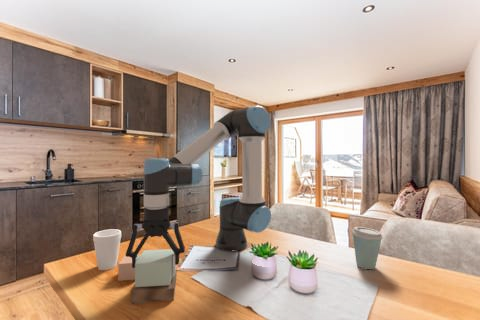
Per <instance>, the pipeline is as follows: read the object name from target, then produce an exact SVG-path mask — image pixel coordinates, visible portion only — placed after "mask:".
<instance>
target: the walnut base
mask: <svg viewBox="0 0 480 320" xmlns="http://www.w3.org/2000/svg"><path fill="white" fill-rule="evenodd" d="M176 286H177V272H176V273H175V276H172V279H171V283H170V285H164V286H147V287H135V283H134V284H133V287H132V289H131V291H130V305H140V304H142V305H143V304H149V303H159V302H169V301H174V300H175V293H176Z"/></svg>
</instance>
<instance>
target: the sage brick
mask: <svg viewBox="0 0 480 320" xmlns="http://www.w3.org/2000/svg"><path fill="white" fill-rule="evenodd" d="M173 253H174V252H173V250H172V249H171V248H169V249H168V248H167V249H148V250H147V249H144V250H143V251H142V253H140V254H141V256H140V257H139V259H138V260H137V262H136V263H135V280H134V284H135V287H147V286H164V285H170V283H171V279H172V276H173Z"/></svg>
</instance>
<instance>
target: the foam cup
mask: <svg viewBox="0 0 480 320" xmlns="http://www.w3.org/2000/svg"><path fill="white" fill-rule="evenodd" d="M92 236H93V237H92V239H93V241H92V242H93V244H94V245H93V246H94V252H95V257H96V263H97V264H96V266H97V269H98V270H99V271H109V270H111V269H114V268H116V267H117V266H118V259H119V253H120V244H121V239H122V231H121V229H117V228H116V229H115V228H112V229H111V228H110V229H104V230H103V229H102V230H100V231H96V232H94V234H92Z"/></svg>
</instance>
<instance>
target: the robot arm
mask: <svg viewBox="0 0 480 320" xmlns="http://www.w3.org/2000/svg"><path fill="white" fill-rule="evenodd" d="M271 123H272V121H271V116H270V114H269V112H268V111H267V109H266V108H264V107H263V106H261V105H251V106H247V107H243V108H237V109H234V110H231V111H230V112H228V113H227V114H224V115H223V116H222V117H221V118H219V119H218V120H217V121H215V122H214V123H213V125H212V127H211V128H210V129H209V130H207V131H206V132H204V133H203V134H202V135H200V136H199V137H197V138H196V139H195V140H194V141H192V142H191V143H189V144H188V145H187V146H185V147H184V148H183V149H181V150H180V151H179V152H178V153H176V154H175V155H173V156H172V157H171V158H169V159H168V158H162V157H161V158H160V157H159V158H157V157H156V158H155V157H152V158H146V159H144V163H143V206H144V208H143V222H142V223H138V222H136V223H134V224H133V226H132V234H131V237H130V239H129V244H128V247H127V249H126V252H125V255H126V257H131V258H132V268H135V263H136V262H137V260H138V259H139V257H140V255H139V253H140V251H141V249H142V248H143V246H144V245H145V243H146V242H147V240H148V239H149V237H150V238H154V237H158V238H159V237H160V238H161V237H163V238H164V240H165V241H166V243H167V244H168V246H169V247H170V249H172V250H173V252H174V253H173V276H175V273H176V274H177V268H176V266H178V265H179V264H180V255H181V254H184V253H185V250H186V249H185V248H186V247H185V243H184V241H183V239H182V235H181V232H180V228H179V226H180V225H179V224H180V223H179V221H175V222H170V217H169V214H170V207H169V205H170V203H169V201H170V200H169V199H170V196H169V195H170V188H174V187H184V186H185V187H186V186H191V187H192V186H194V185H195V186H196V185H199V184H200V183H201V182H202V179H203V170H202V167H201V166H200V165H199V164H198V163H197V162H198V161H200V160H201V159H202V158H204V157H205V156H206V155H208V154H209V152H211V151H212V150H213V149H214V148H215V147H217V146H219V144H221V143H222V142H223V141H228V140H229V139H230V138H232V137H236V136H238V139H239V140H240V141H241V161H242V162H241V168H242V169H241V170H242V171H241V175H242V177H241V180H242V181H241V184H242V188H241V190H242V191H241V194H242V195H241V196H235V197H234V196H233V197H224V198H222V199H221V200H220V202H219V231H218V234H217V237H216V240H215V247H216V248H217V249H219V250H222V251H225V252H233V251H232V250H238V251H241V250H244V249H246V248H247V246H248V240H247V236H246V233H245V230H246V231H249V232H251V233H253V232H254V233H262V232H264V231H265V230H267V227H268V226H269V224H270V223H271V219H272V211H271V210H270V208H269V207H268V206H266V199H265V198H264V197H263V180H262V179H263V172H262V171H263V170H262V169H263V167H262V166H263V165H262V163H263V161H262V160H263V159H262V158H263V156H262V155H263V154H262V151H263V148H262V146H263V144H262V142H263V141H264V140H265V138H266V133H267V132H269V131H270V129H271V125H272V124H271ZM170 227H171V229H172V231H174V234H175V235H174V236H175V237H176V241H177V244H176V242H175V240H173V237H171V234H170V233H169V231H168V229H169V228H170ZM141 229H143V231H144V232H145V234H144V236H143V237H142V239H141V240H140V242H139V243H138V244H137V246H136V249H135V250H134V251H133V249H134V245H135V243H136V240H137V237H138V234H139V232H140V231H141ZM177 245H178V246H179V247H178V246H177Z"/></svg>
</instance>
